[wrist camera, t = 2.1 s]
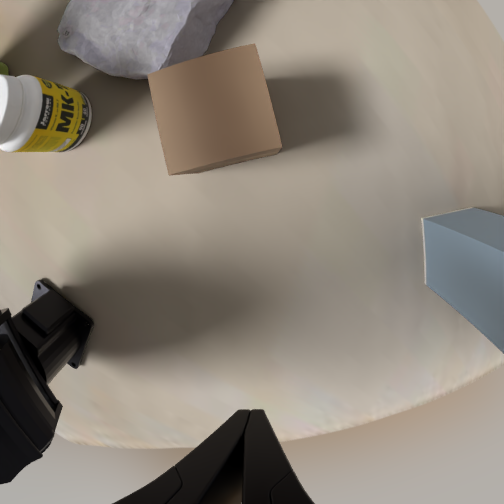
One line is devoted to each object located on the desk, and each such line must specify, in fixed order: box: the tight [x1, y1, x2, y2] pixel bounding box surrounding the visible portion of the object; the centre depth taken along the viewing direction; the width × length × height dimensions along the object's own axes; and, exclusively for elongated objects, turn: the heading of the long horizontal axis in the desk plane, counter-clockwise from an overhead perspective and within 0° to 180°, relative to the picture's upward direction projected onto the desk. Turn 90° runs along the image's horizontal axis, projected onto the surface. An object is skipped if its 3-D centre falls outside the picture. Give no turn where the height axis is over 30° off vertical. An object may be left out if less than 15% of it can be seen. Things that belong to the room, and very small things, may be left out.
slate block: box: [421, 207, 504, 353], centre depth 13 cm, size 5×5×11 cm
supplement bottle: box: [0, 74, 92, 152], centre depth 13 cm, size 5×5×8 cm
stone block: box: [57, 0, 234, 79], centre depth 14 cm, size 12×5×10 cm
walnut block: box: [147, 44, 282, 175], centre depth 14 cm, size 5×5×6 cm
